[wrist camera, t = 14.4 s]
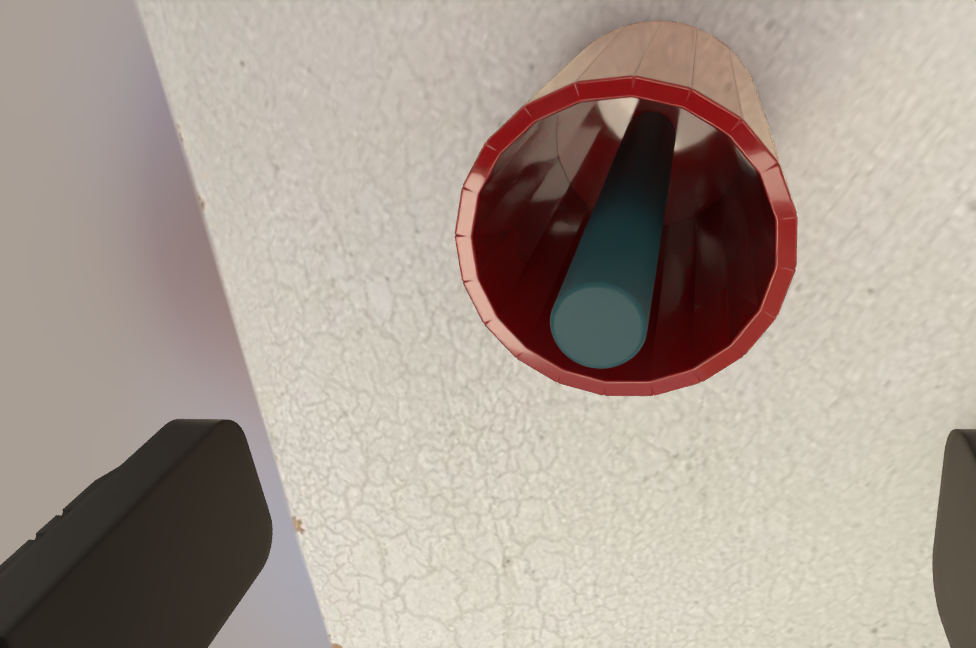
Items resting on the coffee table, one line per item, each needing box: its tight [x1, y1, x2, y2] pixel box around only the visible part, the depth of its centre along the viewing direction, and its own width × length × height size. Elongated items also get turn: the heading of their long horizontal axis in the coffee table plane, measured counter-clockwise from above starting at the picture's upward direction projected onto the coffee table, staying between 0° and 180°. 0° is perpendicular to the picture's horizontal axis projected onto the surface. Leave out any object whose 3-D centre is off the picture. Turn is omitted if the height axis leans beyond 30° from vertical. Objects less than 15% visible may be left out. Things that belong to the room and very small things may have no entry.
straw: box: [550, 112, 676, 369], centre depth 19 cm, size 2×2×14 cm
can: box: [455, 21, 798, 396], centre depth 21 cm, size 7×7×11 cm
